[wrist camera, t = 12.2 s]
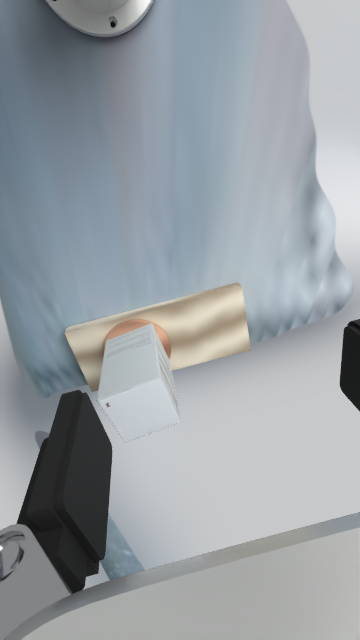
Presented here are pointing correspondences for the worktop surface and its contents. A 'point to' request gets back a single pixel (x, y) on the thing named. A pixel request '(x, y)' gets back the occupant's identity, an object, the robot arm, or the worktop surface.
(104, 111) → the worktop surface
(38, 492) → the robot arm
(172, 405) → the supplement box
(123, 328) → the board
